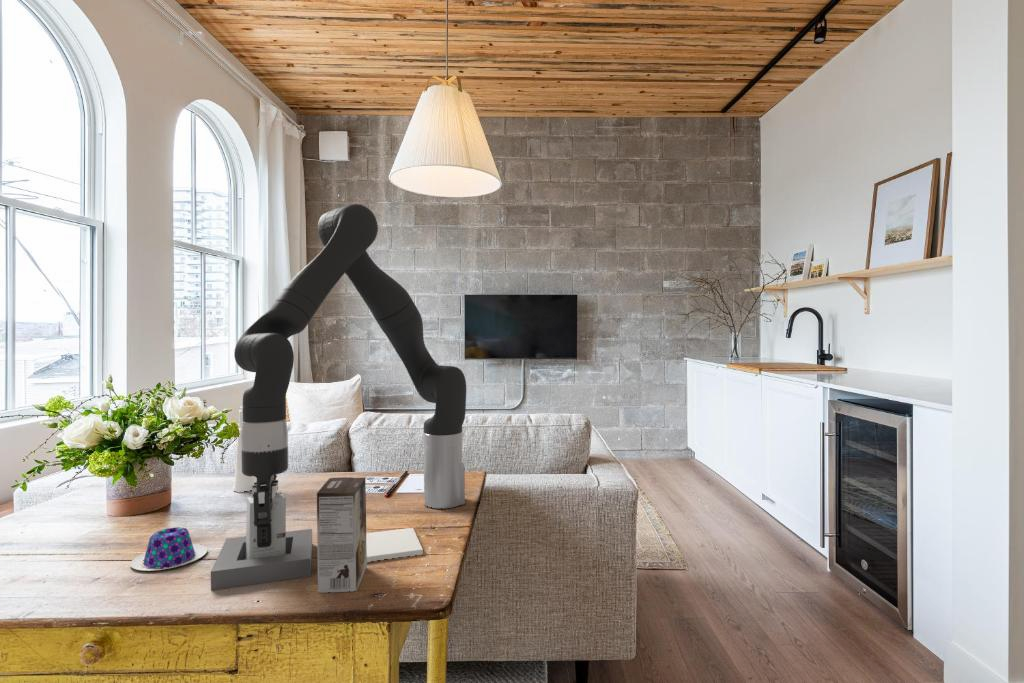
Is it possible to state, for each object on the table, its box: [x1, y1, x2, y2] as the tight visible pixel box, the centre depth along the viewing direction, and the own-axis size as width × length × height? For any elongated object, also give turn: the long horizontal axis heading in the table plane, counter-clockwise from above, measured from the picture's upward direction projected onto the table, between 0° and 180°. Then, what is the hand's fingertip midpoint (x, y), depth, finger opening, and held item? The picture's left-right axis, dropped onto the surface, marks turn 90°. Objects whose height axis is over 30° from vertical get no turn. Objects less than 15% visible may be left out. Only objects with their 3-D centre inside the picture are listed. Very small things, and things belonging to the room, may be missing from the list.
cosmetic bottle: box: [232, 405, 257, 493], centre depth 145 cm, size 6×6×22 cm
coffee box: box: [316, 476, 368, 594], centre depth 91 cm, size 9×6×16 cm
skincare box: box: [245, 492, 287, 560], centre depth 97 cm, size 6×4×12 cm
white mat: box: [366, 527, 424, 563], centre depth 105 cm, size 12×12×1 cm
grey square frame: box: [210, 528, 313, 591], centre depth 97 cm, size 15×15×3 cm
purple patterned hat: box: [129, 526, 208, 572], centre depth 100 cm, size 12×12×5 cm
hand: (266, 539), depth 97 cm, fingers open, 5 cm apart
